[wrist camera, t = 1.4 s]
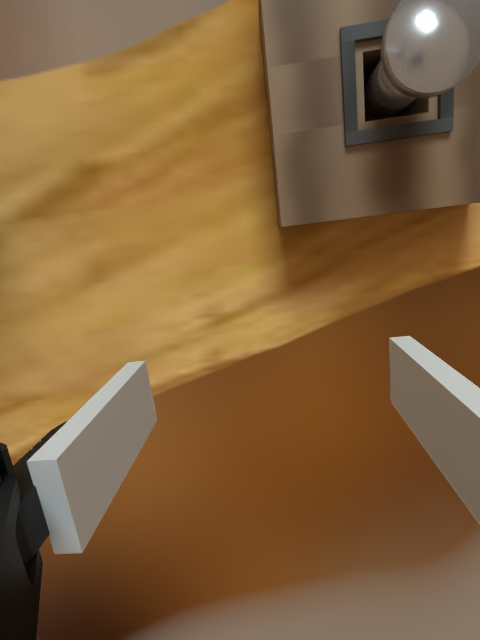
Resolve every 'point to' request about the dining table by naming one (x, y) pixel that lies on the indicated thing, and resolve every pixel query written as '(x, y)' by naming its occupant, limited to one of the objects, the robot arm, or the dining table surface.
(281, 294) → the dining table surface
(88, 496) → the robot arm
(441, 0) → the grey piece
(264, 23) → the socket block
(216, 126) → the dining table surface
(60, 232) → the dining table surface
